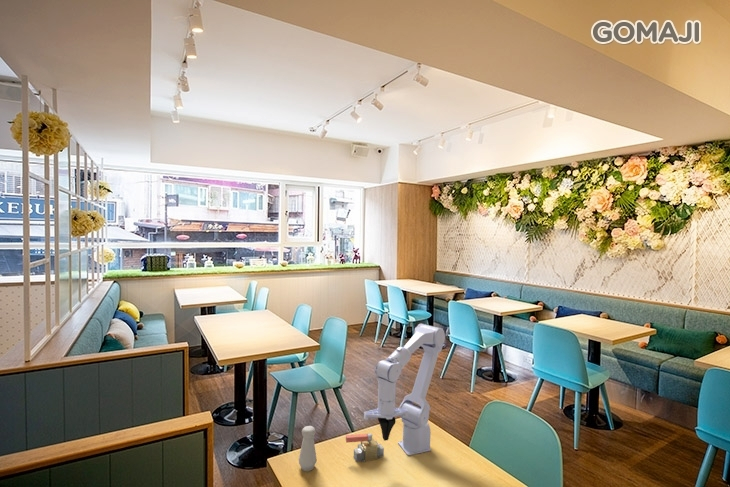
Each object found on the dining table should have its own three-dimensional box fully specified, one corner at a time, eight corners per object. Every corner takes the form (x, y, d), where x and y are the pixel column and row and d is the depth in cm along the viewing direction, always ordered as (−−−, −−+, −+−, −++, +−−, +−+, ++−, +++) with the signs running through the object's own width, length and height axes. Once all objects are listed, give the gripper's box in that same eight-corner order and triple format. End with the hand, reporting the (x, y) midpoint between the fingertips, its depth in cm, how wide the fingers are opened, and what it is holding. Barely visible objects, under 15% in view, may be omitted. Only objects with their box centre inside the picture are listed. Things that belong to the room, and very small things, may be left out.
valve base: (379, 450, 128) (380, 434, 128) (384, 457, 124) (385, 441, 123) (352, 455, 124) (353, 439, 124) (357, 463, 120) (357, 446, 120)
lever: (371, 437, 125) (371, 433, 125) (372, 440, 123) (372, 436, 123) (345, 439, 123) (345, 434, 123) (346, 442, 121) (346, 438, 121)
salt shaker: (312, 474, 114) (314, 434, 113) (295, 471, 115) (296, 431, 115) (318, 463, 120) (320, 424, 119) (302, 460, 121) (303, 422, 120)
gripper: (367, 405, 113) (366, 448, 113) (411, 401, 116) (410, 443, 116) (363, 395, 120) (361, 435, 120) (404, 392, 123) (403, 431, 123)
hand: (385, 438), depth 119 cm, fingers closed
